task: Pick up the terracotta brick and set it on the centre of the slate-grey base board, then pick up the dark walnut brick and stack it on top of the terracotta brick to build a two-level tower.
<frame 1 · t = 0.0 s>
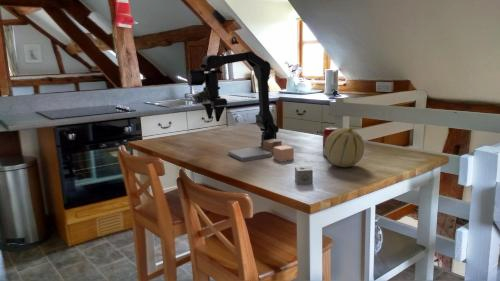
hand: (213, 120, 174), 15 cm above the table, tool pointing down, fingers open, 9 cm apart
cantaloupe: (343, 166, 148), on the table
terracotta brick: (283, 159, 162), on the table
soda can: (330, 156, 164), on the table
walnut brick: (272, 151, 175), on the table
grey cube: (303, 183, 131), on the table
base board: (249, 155, 169), on the table
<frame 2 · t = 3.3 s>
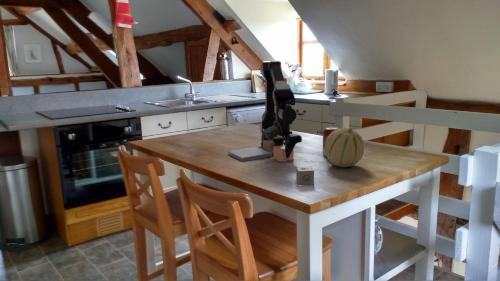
hand: (283, 156, 162), 1 cm above the table, tool pointing down, fingers closed on terracotta brick, 6 cm apart
terracotta brick: (283, 158, 162), on the table, touching gripper
when the fingers open (3 cm above the table, at t = 7.7 s): terracotta brick stays where it is, resting on base board.
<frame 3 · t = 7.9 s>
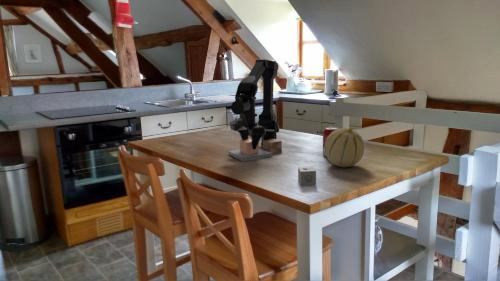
hand: (249, 147, 168), 3 cm above the table, tool pointing down, fingers open, 8 cm apart
terracotta brick: (249, 152, 169), point 1 cm above the table, touching base board
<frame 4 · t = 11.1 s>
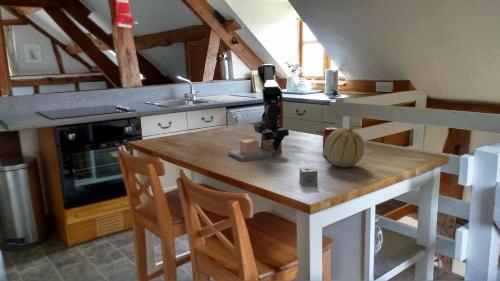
hand: (272, 149, 175), 1 cm above the table, tool pointing down, fingers closed on walnut brick, 6 cm apart
walnut brick: (272, 151, 175), on the table, touching gripper
when the fingers open (8 cm above the table, at t = 14.4 s): walnut brick stays where it is, resting on terracotta brick.
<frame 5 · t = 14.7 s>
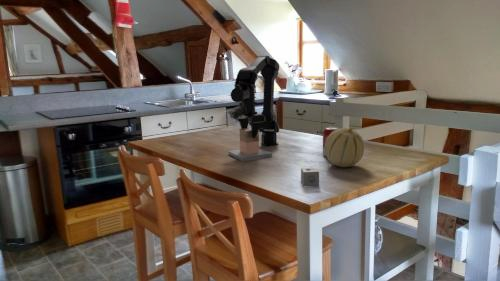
hand: (249, 136, 167), 8 cm above the table, tool pointing down, fingers open, 9 cm apart
terracotta brick: (249, 152, 169), point 1 cm above the table, touching base board, walnut brick
walnut brick: (249, 140, 168), point 6 cm above the table, touching terracotta brick
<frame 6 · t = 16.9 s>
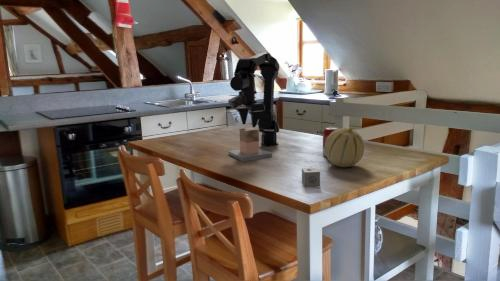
hand: (248, 125, 166), 13 cm above the table, tool pointing down, fingers open, 9 cm apart
at the end: terracotta brick 0.0 cm off-centre on the base board, point 1.5 cm above the base board's base; walnut brick 0.1 cm off-centre on the terracotta brick, point 5.0 cm above the terracotta brick's base; the gripper is holding nothing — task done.
